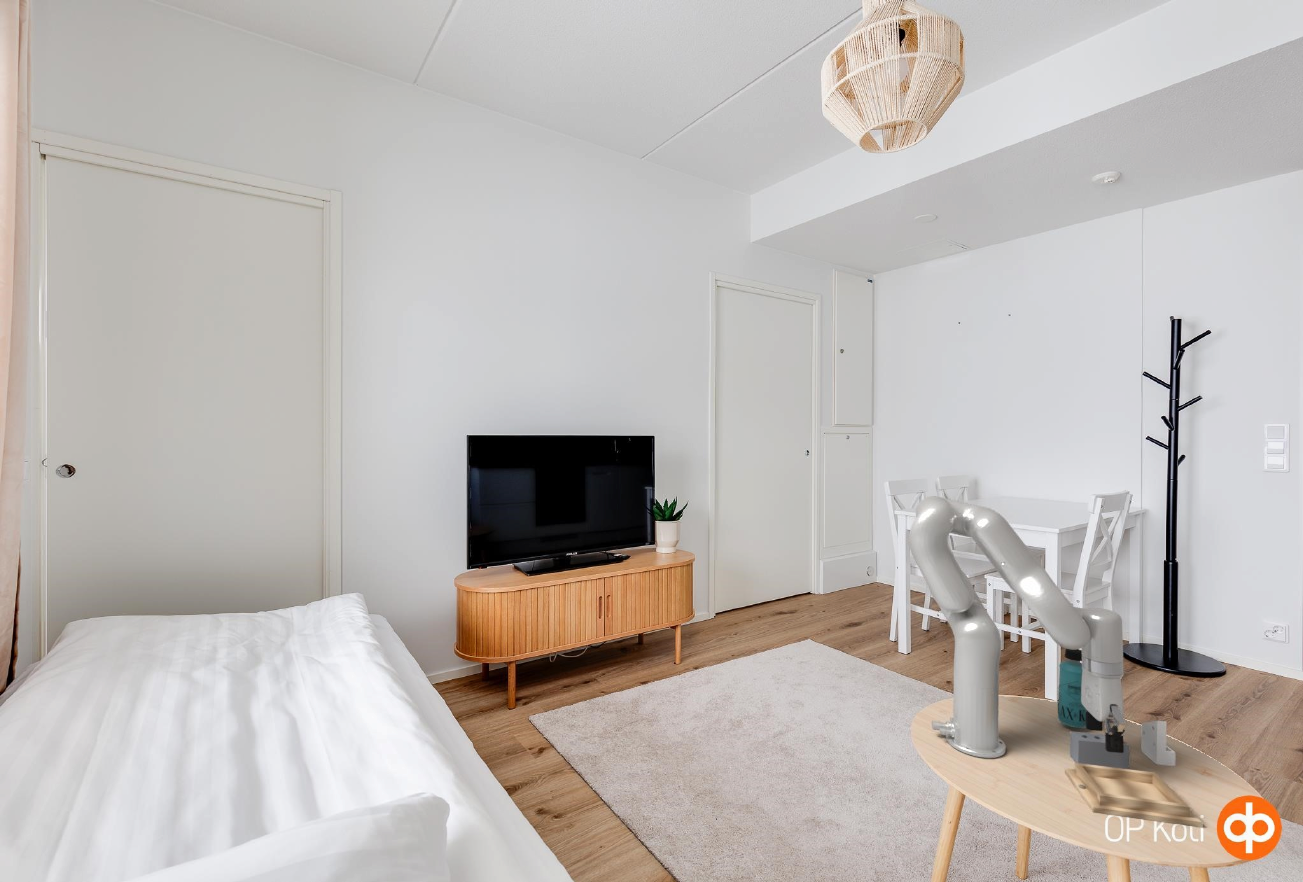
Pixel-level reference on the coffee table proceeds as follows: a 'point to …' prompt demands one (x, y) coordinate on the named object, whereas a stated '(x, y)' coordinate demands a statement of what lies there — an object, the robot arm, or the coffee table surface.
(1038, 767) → the coffee table surface
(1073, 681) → the beverage bottle
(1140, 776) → the wooden tray
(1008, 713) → the coffee table surface
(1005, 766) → the coffee table surface
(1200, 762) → the coffee table surface
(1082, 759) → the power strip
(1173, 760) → the white wedge bracket
